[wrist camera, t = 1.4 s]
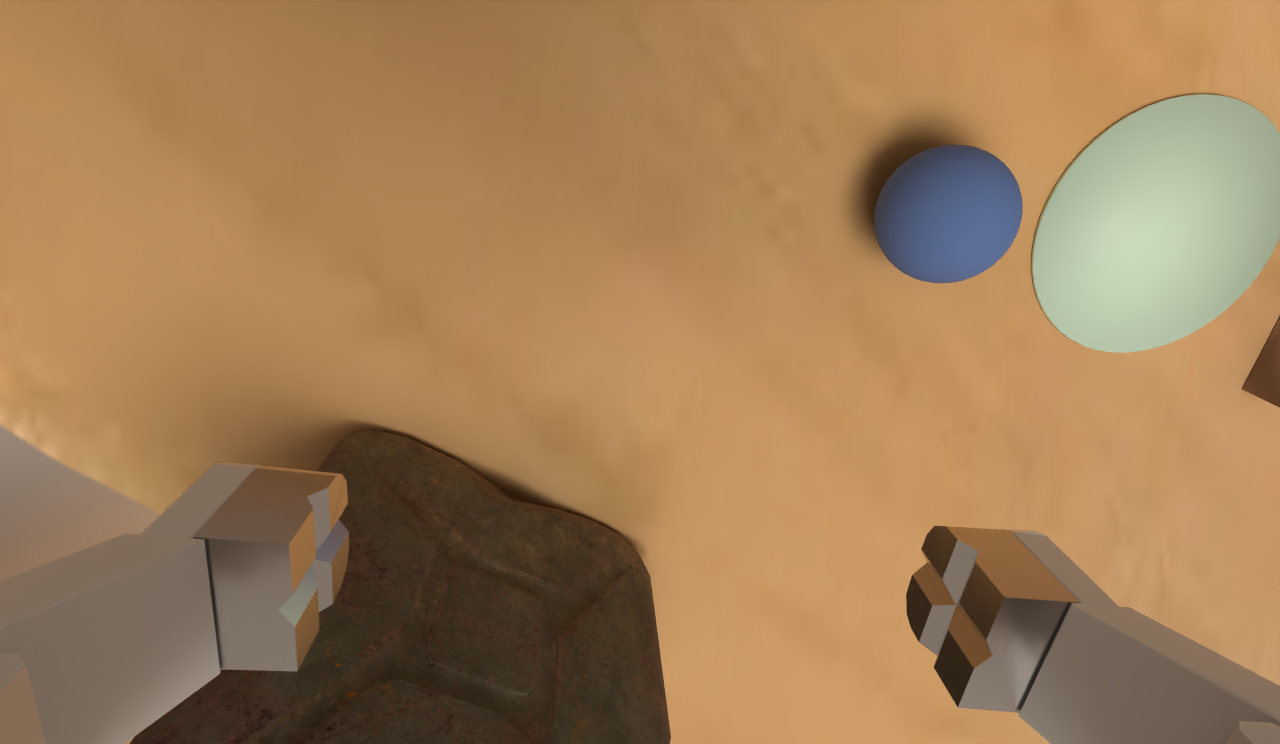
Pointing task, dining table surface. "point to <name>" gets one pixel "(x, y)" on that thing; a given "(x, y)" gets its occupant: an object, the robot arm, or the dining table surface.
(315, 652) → the canister
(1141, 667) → the robot arm
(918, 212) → the ball
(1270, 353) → the brown bar
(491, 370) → the dining table surface
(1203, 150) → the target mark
